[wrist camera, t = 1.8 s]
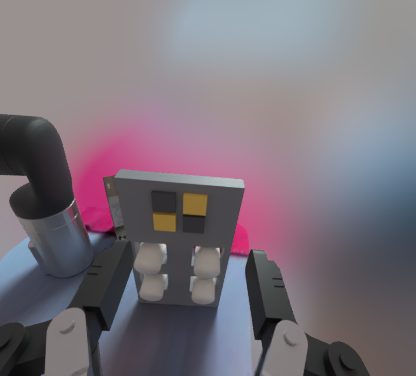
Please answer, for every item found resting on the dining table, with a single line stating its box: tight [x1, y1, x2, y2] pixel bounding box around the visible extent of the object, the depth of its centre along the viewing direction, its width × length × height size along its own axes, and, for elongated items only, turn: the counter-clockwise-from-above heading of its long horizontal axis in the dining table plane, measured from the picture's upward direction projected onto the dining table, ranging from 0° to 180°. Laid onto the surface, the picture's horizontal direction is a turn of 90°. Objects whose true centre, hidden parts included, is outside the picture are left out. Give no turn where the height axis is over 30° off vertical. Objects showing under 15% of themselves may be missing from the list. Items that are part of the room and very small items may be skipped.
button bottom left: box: [139, 274, 167, 301], centre depth 37 cm, size 4×4×4 cm
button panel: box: [114, 169, 245, 308], centre depth 37 cm, size 9×16×30 cm, turn 89°
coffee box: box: [103, 175, 127, 240], centre depth 53 cm, size 9×6×16 cm
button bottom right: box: [192, 276, 215, 305], centre depth 38 cm, size 4×4×4 cm
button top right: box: [194, 246, 220, 279], centre depth 33 cm, size 4×4×4 cm
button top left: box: [134, 242, 166, 275], centre depth 33 cm, size 4×4×4 cm
